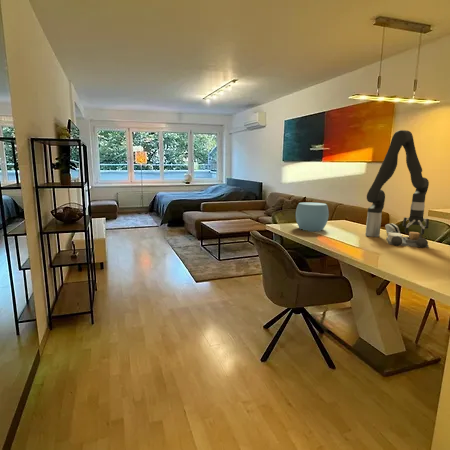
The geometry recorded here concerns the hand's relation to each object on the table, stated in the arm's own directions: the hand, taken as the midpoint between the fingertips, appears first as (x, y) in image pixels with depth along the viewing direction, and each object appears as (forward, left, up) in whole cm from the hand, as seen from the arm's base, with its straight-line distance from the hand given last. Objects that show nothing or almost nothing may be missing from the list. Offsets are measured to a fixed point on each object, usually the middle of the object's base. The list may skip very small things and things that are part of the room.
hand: (414, 233), depth 210 cm
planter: (-67, +25, -7) cm, 72 cm away
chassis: (-4, 0, -7) cm, 8 cm away
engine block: (0, 0, -5) cm, 5 cm away
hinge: (-9, +25, -7) cm, 27 cm away
